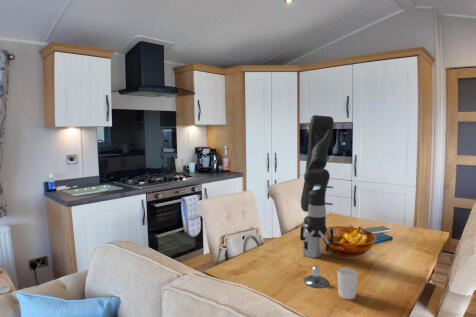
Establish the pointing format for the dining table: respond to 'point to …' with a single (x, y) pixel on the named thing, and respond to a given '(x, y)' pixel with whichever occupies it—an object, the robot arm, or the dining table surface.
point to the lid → (316, 279)
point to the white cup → (347, 283)
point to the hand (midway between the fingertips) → (316, 250)
